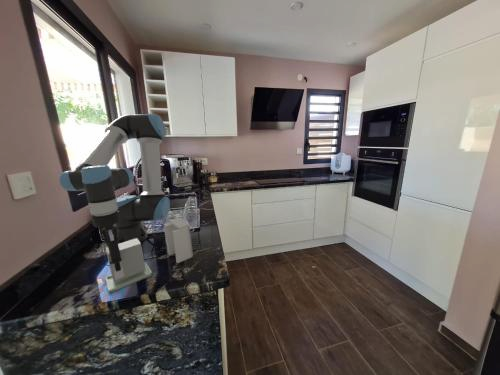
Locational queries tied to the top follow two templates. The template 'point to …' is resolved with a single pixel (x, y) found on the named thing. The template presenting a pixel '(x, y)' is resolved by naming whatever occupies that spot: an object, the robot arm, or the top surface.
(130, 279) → the tray
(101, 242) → the top surface
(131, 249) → the upright pale grey block
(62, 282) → the top surface
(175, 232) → the printer bay
